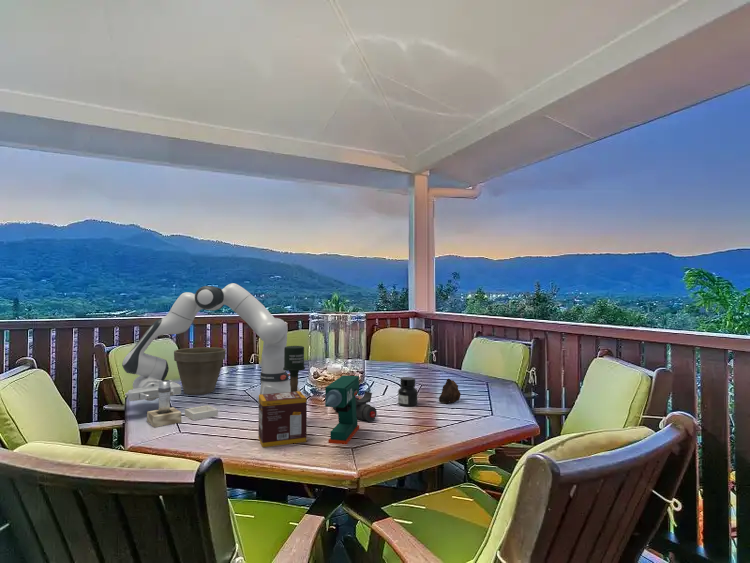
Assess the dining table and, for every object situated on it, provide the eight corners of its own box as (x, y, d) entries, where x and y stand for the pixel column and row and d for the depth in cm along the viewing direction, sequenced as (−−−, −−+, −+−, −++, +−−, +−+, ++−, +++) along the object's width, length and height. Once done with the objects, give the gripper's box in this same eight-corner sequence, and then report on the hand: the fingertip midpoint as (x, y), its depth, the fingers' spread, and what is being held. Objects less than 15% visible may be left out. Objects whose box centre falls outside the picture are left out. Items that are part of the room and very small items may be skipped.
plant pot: (213, 384, 245) (214, 345, 246) (233, 392, 227) (233, 349, 228) (166, 391, 229) (167, 349, 229) (183, 400, 210) (184, 354, 211)
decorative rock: (453, 398, 215) (453, 376, 215) (463, 401, 210) (463, 378, 211) (436, 402, 207) (436, 379, 207) (446, 405, 203) (446, 381, 203)
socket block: (173, 416, 183) (173, 407, 183) (181, 422, 175) (181, 412, 175) (146, 421, 176) (147, 411, 176) (154, 427, 168) (154, 417, 169)
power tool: (336, 459, 138) (337, 395, 138) (315, 457, 139) (315, 393, 139) (360, 428, 169) (360, 375, 169) (342, 426, 170) (343, 374, 171)
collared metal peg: (172, 420, 177) (173, 380, 177) (164, 424, 173) (164, 383, 173) (163, 419, 178) (164, 380, 179) (155, 423, 174) (155, 382, 174)
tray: (208, 411, 192) (208, 405, 192) (217, 415, 184) (217, 409, 184) (184, 415, 185) (184, 409, 185) (193, 420, 177) (193, 414, 178)
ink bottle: (395, 402, 207) (395, 377, 207) (412, 401, 210) (412, 375, 210) (402, 407, 198) (402, 381, 198) (420, 406, 201) (420, 379, 201)
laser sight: (345, 409, 196) (345, 386, 196) (381, 419, 180) (381, 395, 180) (328, 413, 189) (328, 390, 190) (364, 424, 173) (364, 399, 174)
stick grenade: (286, 426, 170) (287, 348, 171) (280, 420, 178) (280, 346, 178) (307, 423, 174) (308, 347, 175) (300, 417, 182) (301, 345, 182)
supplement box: (257, 438, 157) (258, 394, 157) (300, 433, 163) (300, 390, 163) (261, 447, 147) (262, 401, 148) (306, 442, 153) (307, 397, 154)
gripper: (123, 385, 184) (131, 391, 174) (175, 379, 198) (185, 384, 187) (123, 401, 184) (131, 407, 174) (175, 393, 197) (185, 399, 187)
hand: (160, 395), depth 180 cm, fingers open, 8 cm apart
